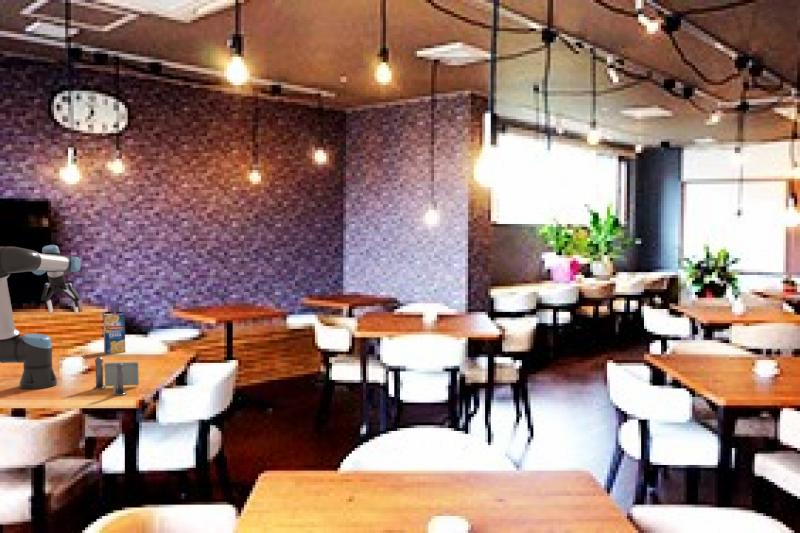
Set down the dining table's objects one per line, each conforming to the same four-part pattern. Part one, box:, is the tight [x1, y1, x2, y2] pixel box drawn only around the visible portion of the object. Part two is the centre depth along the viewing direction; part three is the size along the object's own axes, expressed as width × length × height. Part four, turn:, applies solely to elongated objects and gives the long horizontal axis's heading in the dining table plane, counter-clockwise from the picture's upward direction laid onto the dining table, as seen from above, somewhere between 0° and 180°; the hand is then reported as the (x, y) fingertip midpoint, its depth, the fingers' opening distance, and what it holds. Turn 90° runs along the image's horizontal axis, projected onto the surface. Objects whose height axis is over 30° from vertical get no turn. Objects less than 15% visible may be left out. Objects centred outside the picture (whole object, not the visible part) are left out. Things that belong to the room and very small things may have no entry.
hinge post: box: [93, 356, 107, 390], centre depth 316 cm, size 5×5×14 cm
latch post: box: [112, 362, 128, 397], centre depth 305 cm, size 6×5×14 cm
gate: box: [104, 361, 140, 387], centre depth 318 cm, size 14×2×10 cm, turn 100°
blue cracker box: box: [102, 312, 126, 355], centre depth 410 cm, size 7×11×22 cm, turn 118°
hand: (64, 312), depth 370 cm, fingers open, 13 cm apart
